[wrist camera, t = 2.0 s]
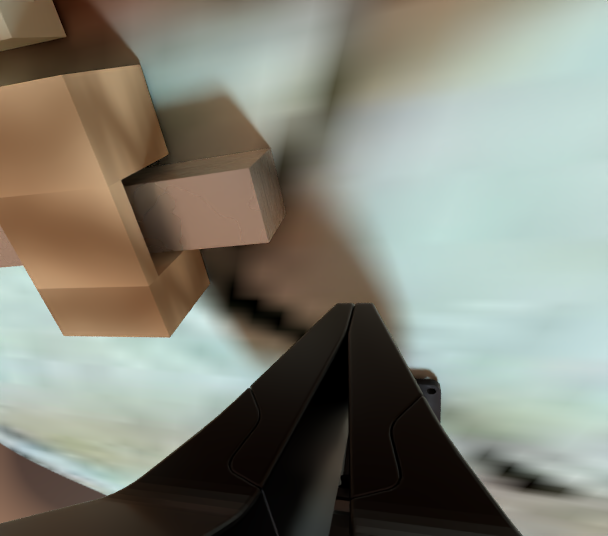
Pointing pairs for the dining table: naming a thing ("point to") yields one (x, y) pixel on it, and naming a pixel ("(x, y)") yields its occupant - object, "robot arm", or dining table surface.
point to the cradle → (28, 23)
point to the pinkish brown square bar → (200, 204)
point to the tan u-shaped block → (89, 204)
